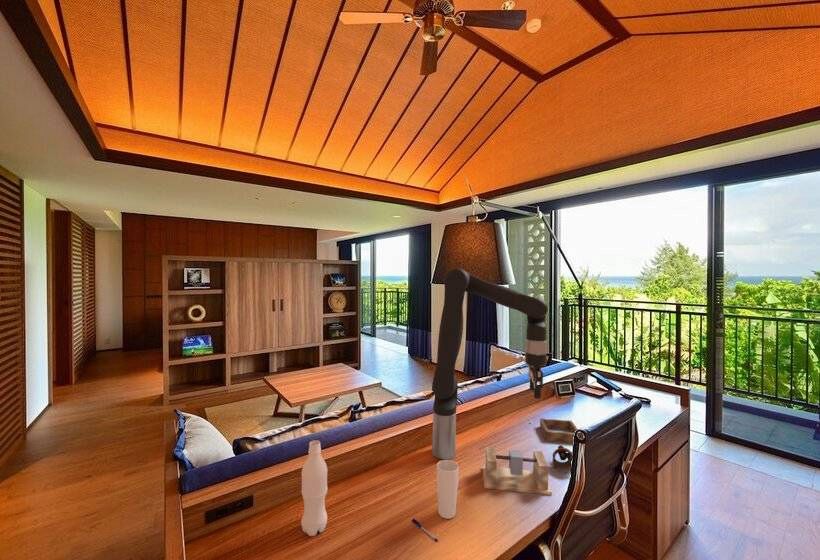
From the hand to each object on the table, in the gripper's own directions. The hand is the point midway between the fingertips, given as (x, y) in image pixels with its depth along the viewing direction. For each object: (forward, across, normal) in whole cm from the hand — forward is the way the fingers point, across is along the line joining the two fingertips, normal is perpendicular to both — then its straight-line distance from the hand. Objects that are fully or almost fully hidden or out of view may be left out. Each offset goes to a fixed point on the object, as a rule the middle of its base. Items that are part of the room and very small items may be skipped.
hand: (534, 394), depth 132 cm
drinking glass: (+28, +31, -31) cm, 52 cm away
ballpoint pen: (+29, +39, -37) cm, 61 cm away
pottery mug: (+28, -3, +12) cm, 31 cm away
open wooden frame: (+28, -30, +17) cm, 44 cm away
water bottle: (+28, +44, -68) cm, 86 cm away
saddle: (+24, +10, -8) cm, 28 cm away
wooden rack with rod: (+28, +10, -8) cm, 31 cm away
